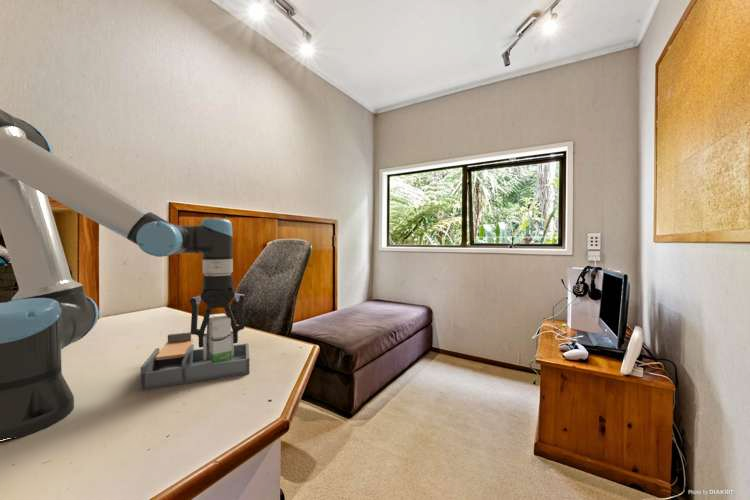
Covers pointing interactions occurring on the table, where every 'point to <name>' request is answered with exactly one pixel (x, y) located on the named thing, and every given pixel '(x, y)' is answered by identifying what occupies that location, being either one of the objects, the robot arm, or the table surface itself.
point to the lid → (175, 346)
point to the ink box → (219, 338)
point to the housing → (192, 368)
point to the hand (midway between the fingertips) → (218, 356)
